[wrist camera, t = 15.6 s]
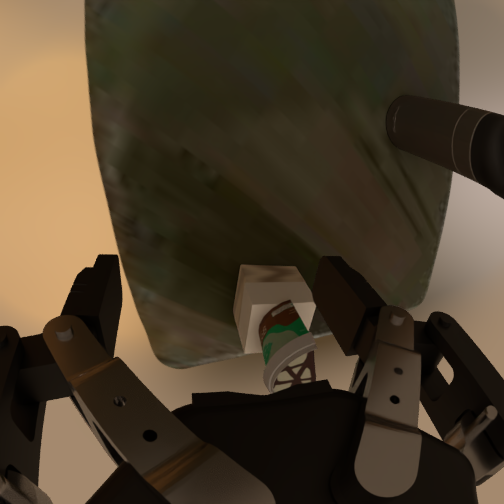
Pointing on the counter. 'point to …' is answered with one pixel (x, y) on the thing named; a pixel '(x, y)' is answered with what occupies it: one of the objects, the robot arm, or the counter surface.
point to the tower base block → (262, 280)
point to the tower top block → (263, 300)
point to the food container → (286, 348)
